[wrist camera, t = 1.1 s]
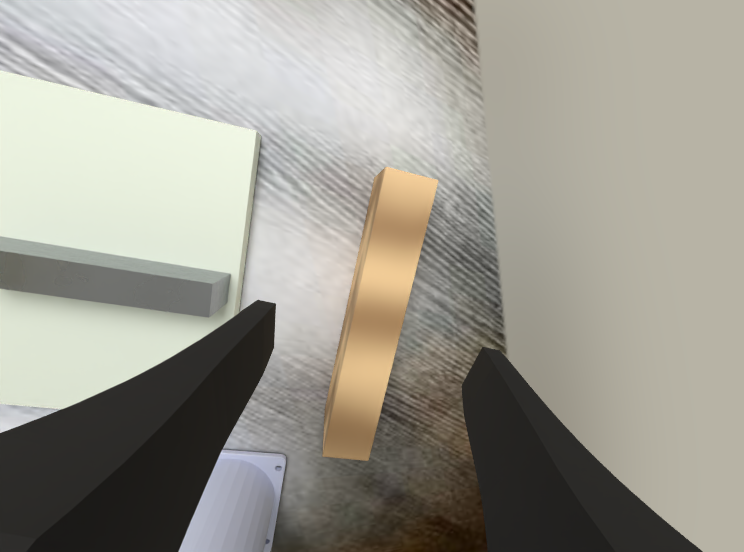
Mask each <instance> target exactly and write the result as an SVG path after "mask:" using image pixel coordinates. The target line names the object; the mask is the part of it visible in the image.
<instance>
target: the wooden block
mask: <svg viewBox="0 0 744 552" xmlns="http://www.w3.org/2000/svg"><path fill="white" fill-rule="evenodd" d="M437 184H438V180H435V179H431V178H427V177H424V176H420V175H416V174H412V173H408V172H404V171H400V170H397V169H393V168H389V167H385V168H384V169H383V170H382V171H381V172H380V173H379V174H378V175H377V176H376V177H375V178H374V183H373V187H372V192H371V196H370V201H369V206H368V210H367V215H366V220H365V224H364V229H363V234H362V238H361V243H360V248H359V252H358V257H357V262H356V266H355V271H354V276H353V280H352V285H351V290H350V294H349V299H348V304H347V308H346V313H345V318H344V322H343V327H342V332H341V336H340V341H339V346H338V350H337V355H336V360H335V364H334V369H333V374H332V378H331V383H330V388H329V392H328V397H327V402H326V406H325V416H324V436H323V457H333V458H344V459H354V460H365V461H368V460H369V456H370V452H371V448H372V444H373V440H374V436H375V432H376V428H377V424H378V420H379V416H380V412H381V408H382V404H383V400H384V396H385V392H386V388H387V384H388V380H389V376H390V372H391V368H392V364H393V360H394V356H395V352H396V348H397V344H398V340H399V336H400V332H401V328H402V324H403V320H404V316H405V312H406V308H407V304H408V300H409V296H410V292H411V288H412V284H413V280H414V276H415V272H416V268H417V264H418V260H419V256H420V252H421V248H422V244H423V240H424V236H425V232H426V228H427V224H428V220H429V216H430V212H431V208H432V204H433V200H434V196H435V192H436V188H437Z"/></svg>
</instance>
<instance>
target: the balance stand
mask: <svg viewBox="0 0 744 552" xmlns="http://www.w3.org/2000/svg"><path fill="white" fill-rule="evenodd" d="M260 142H261V135H260V134H259V133H258V132H257V131H255V130H251V129H246V128H242V127H238V126H234V125H230V124H225V123H221V122H217V121H213V120H208V119H204V118H200V117H196V116H191V115H187V114H183V113H179V112H174V111H170V110H166V109H162V108H157V107H153V106H149V105H145V104H140V103H136V102H132V101H128V100H123V99H119V98H115V97H111V96H106V95H102V94H98V93H94V92H89V91H85V90H81V89H77V88H72V87H68V86H64V85H60V84H55V83H51V82H47V81H43V80H38V79H34V78H30V77H26V76H21V75H17V74H13V73H9V72H4V71H0V404H8V405H19V406H31V407H42V408H53V409H64V408H66V407H69V406H71V405H74V404H76V403H78V402H81V401H83V400H85V399H87V398H90V397H92V396H94V395H96V394H98V393H101V392H103V391H105V390H107V389H109V388H112V387H114V386H116V385H118V384H120V383H123V382H125V381H127V380H129V379H131V378H133V377H135V376H137V375H139V374H141V373H143V372H145V371H147V370H148V369H150V368H152V367H154V366H156V365H158V364H160V363H161V362H163V361H165V360H167V359H169V358H170V357H172V356H174V355H175V354H177V353H179V352H180V351H182V350H184V349H185V348H187V347H189V346H190V345H192V344H194V343H195V342H197V341H198V340H200V339H202V338H203V337H205V336H206V335H208V334H209V333H211V332H212V331H214V330H215V329H217V328H218V327H220V326H221V325H223V324H224V323H226V322H227V321H228V320H230V319H231V318H233V317H234V316H236V315H237V314H238V313H239V309H240V301H241V293H242V285H243V277H244V269H245V261H246V253H247V245H248V237H249V229H250V221H251V213H252V205H253V197H254V190H255V182H256V174H257V166H258V158H259V150H260Z"/></svg>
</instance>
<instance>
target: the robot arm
mask: <svg viewBox="0 0 744 552" xmlns="http://www.w3.org/2000/svg"><path fill="white" fill-rule="evenodd" d="M275 311H276V304H275V303H270V302H265V301H260V300H257V301H255V302H254V303H252V304H251V305H250V306H248V307H247V308H245V309H244V310H243V311H241V312H240V313H238V314H237V315H236V316H234V317H233V318H231V319H230V320H228V321H227V322H226V323H224V324H223V325H221V326H220V327H218V328H217V329H215V330H214V331H212V332H211V333H209V334H208V335H206V336H205V337H203V338H202V339H200V340H198V341H197V342H195V343H194V344H192V345H190V346H189V347H187V348H185V349H184V350H182V351H180V352H179V353H177V354H175V355H174V356H172V357H170V358H169V359H167V360H165V361H163V362H161V363H160V364H158V365H156V366H154V367H152V368H150V369H148V370H147V371H145V372H143V373H141V374H139V375H137V376H135V377H133V378H131V379H129V380H127V381H125V382H123V383H120V384H118V385H116V386H114V387H112V388H109V389H107V390H105V391H103V392H101V393H98V394H96V395H94V396H92V397H90V398H87V399H85V400H83V401H81V402H78V403H76V404H74V405H71V406H69V407H66V408H64V409H62V410H59V411H57V412H54V413H52V414H49V415H47V416H44V417H42V418H39V419H37V420H34V421H31V422H29V423H26V424H24V425H21V426H18V427H16V428H13V429H10V430H8V431H5V432H2V433H0V552H271V548H272V542H273V537H274V531H275V525H276V519H277V513H278V507H279V501H280V495H281V489H282V483H283V477H284V472H285V466H286V456H285V455H283V454H275V453H262V452H248V451H235V450H222V449H223V447H224V445H225V443H226V441H227V439H228V437H229V435H230V434H231V432H232V430H233V428H234V426H235V425H236V423H237V421H238V419H239V417H240V415H241V414H242V412H243V410H244V408H245V406H246V405H247V403H248V401H249V399H250V397H251V396H252V394H253V392H254V390H255V388H256V386H257V385H258V383H259V381H260V379H261V377H262V375H263V373H264V371H265V368H266V366H267V364H268V361H269V359H270V356H271V354H272V351H273V349H274V333H275ZM462 398H463V409H464V417H465V422H466V427H467V432H468V436H469V441H470V446H471V450H472V455H473V459H474V464H475V468H476V473H477V478H478V482H479V487H480V493H481V498H482V505H483V513H484V521H485V529H486V537H487V547H488V552H702V551H701V550H700V549H699V548H698V547H696V546H695V545H694V544H692V543H691V542H690V541H689V540H688V539H686V538H685V537H684V536H683V535H681V534H680V533H679V532H678V531H677V530H675V529H674V528H673V527H671V525H669V524H668V523H667V522H666V521H665V520H663V519H662V518H661V517H660V516H659V515H657V514H656V513H655V512H654V511H653V510H652V509H651V508H649V507H648V506H647V505H646V504H645V503H644V502H643V501H641V500H640V499H639V498H638V497H637V496H636V495H635V494H633V493H632V492H631V491H630V490H629V489H628V488H627V487H626V486H625V485H623V484H622V483H621V482H620V481H619V480H618V479H617V478H616V477H615V476H614V475H613V474H612V473H611V472H610V471H609V470H607V468H605V467H604V466H603V465H602V464H601V463H600V462H599V461H598V460H597V459H596V458H595V457H594V456H593V455H592V454H591V453H590V452H589V451H588V450H587V449H586V448H585V447H584V446H583V445H582V444H581V443H580V442H579V441H578V440H577V439H576V438H575V436H574V435H573V434H572V433H571V432H570V431H569V430H568V429H567V428H566V427H565V426H564V425H563V424H562V422H560V420H559V419H558V418H557V417H556V416H555V415H554V414H553V413H552V411H551V410H550V409H549V408H548V407H547V406H546V404H545V403H544V402H543V401H542V400H541V399H540V397H539V396H538V395H537V394H536V393H535V392H534V390H533V389H532V388H531V387H530V386H529V385H528V383H527V382H526V381H525V380H524V378H523V377H522V376H521V375H520V374H519V372H518V371H517V370H516V369H515V368H514V366H513V365H512V364H511V363H510V362H509V360H508V359H507V358H506V357H505V356H504V355H503V354H502V352H501V351H500V350H495V349H490V348H485V347H482V349H481V351H480V353H479V355H478V356H477V358H476V360H475V362H474V364H473V366H472V368H471V369H470V371H469V373H468V375H467V377H466V379H465V381H464V382H463V384H462ZM277 466H281V467H277Z"/></svg>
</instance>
